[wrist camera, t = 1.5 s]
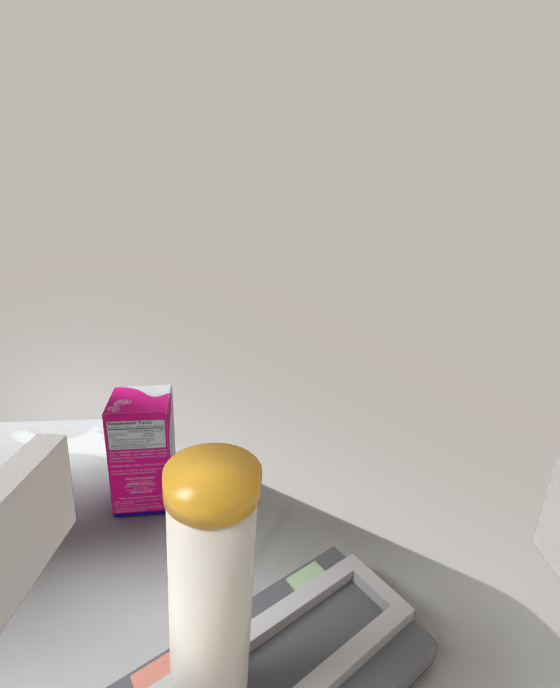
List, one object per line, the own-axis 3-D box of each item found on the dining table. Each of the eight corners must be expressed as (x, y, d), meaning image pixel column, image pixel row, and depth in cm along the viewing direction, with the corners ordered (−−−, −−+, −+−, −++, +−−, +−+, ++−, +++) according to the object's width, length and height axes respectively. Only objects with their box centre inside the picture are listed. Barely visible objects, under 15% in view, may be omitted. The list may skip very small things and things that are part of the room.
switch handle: (191, 787, 20) (190, 519, 15) (157, 707, 23) (146, 461, 18) (261, 727, 23) (281, 479, 18) (222, 662, 26) (229, 434, 21)
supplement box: (121, 480, 45) (114, 384, 41) (177, 478, 46) (175, 383, 42) (109, 519, 40) (100, 412, 36) (173, 515, 41) (171, 411, 37)
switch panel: (153, 960, 17) (150, 923, 16) (87, 723, 24) (82, 689, 23) (432, 663, 29) (440, 632, 28) (331, 564, 36) (335, 537, 35)
